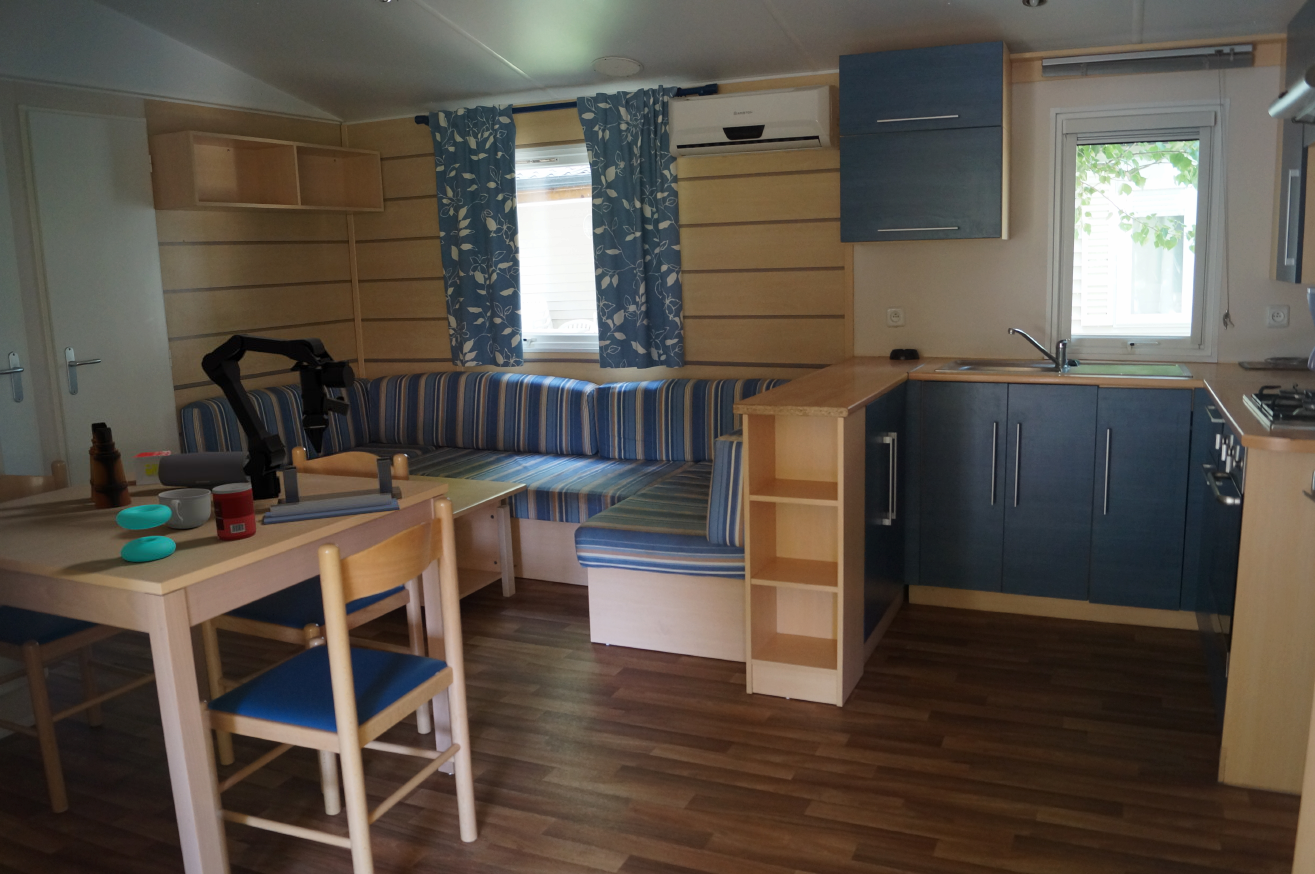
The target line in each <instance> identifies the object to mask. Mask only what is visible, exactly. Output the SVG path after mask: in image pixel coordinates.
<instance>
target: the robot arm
mask: <svg viewBox="0 0 1315 874" xmlns="http://www.w3.org/2000/svg"><path fill="white" fill-rule="evenodd" d="M247 352H254V353H263V354H270V355H271V354H272V355H280V356H283V357H286V358H288V359H290V360H293V361H295V363H294V364H293V366H291V368H290V369H289V371H290V372H298V375H299V376H298V378H299V387H300V399H301V406H302V418H301V424H302V430H303V431H304V433H305V434H306V437H307V438H308V440H309V442H310V444H311V445H312V448H313V449H314V451H315V453H316V454H322V450H323V449H322V447H323V441H324V440H323V438H324V433H325V432H326V431H327V429H328V428H330V418H329V417H330V416H329V412H330V413H331V412H332V413H336V414H338V415H341V416H344V417H345V416H346V417H347V416H348V413H349V410H350V406H351V403H350V402H349V401H346V399H345V396H343V395H340V394H337V395H336V396H335V397H330V396H328V395H327V391H326V388H327V389H352V387H353V386H354V384H355V380H356V379H355V378H356V374H355V372H354V369H353V367H352V366H351V365H350V361H349V360H346V359H345V360H340V361H337V360H335V359H334V357H332V355H331V354H330V353H329V351H328V350H327V349H326V348H325V344H324V343H323V342H322V340H321V339H320V338H318V337H304V338H302V337H301V338H294V339H293V338H291V339H287V338H286V339H285V338H278V337H270V336H262V335H254V334H253V335H252V334H248V333H237V334H233V335H232V336H230V337H229V338H228V339H227V340H226V341H225V342H224V343H222V344H221V345H218V346H217V347H216V348H214V349H213V350H212V352H208V353H206V354H205V355H203V357H202V360H201V362H200V365H201V369H202V371H203V372H204V373H205V375H206V376H207V378H208V379H209V380H210V381H211V382H213V383H214V384H215V385H217V387H219V388H220V390H221V391H222V392H223V394H224V396H225V398H226V400H227V401H228V404H229V405H230V407H231V409H232V411H233V414H235V416H236V419H237V420H238V422H239V425H240V426H241V428H242V430H243V432H244V434H245V436H246V437H247V452H249V455H250V458H251V459H250V460H249V461H248V463H247V464H246V465H245V466H244V467H243V471H244V473H245V475H246V476H250V480H251V482H250V484H251V487H252V494H253V500H260V499H269V498H277V497H280V494H281V493H282V486H281V485H282V484H281V477H280V475H278V470H281V469H282V465H283V463H284V461H285V459H286V456H287V452H286V450H285V448H286V447H287V446H286V445H285V444H284V443H283V441H282V439H281V436H280V434H279V433H274V434H271V432H269V431H268V430H267V429H266V427H265V425H264V423H263V420H262V419H261V417H260V415H259V413H258V412H257V409H256V408H255V405H254V404H253V402H252V400H251V398H250V397H249V395H248V393H247V391H246V389H245V386H244V385H243V384H242V381H241V368H240V365H239V362H240V361H242V359H243V358H244V357H245V355H246V354H247ZM325 387H326V388H325Z"/></svg>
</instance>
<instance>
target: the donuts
mask: <svg viewBox="0 0 1315 874" xmlns="http://www.w3.org/2000/svg"><path fill="white" fill-rule="evenodd" d="M170 517H171V510H170V508H169V507H167V506H165V505H159V504H154V503H153V504H144V505H143V504H142V505H137V506H131V507H128V508H125V509H123V510H120V511H119V512H118V514H116V517H115V521H116V523H117V524H118V526H120V527H121V528H123V529H127V530H135V531H136V530H147V529H151V528H155V527H156V528H157V527H159V526H162V525H164V524H166V523H165V522H167V521H168V520H169V519H170ZM176 548H177V545H176V543H175V541H174V540H173V539H172V538H170V537H168V536H165V535H164V536H163V535H150V536H149V535H148V536H143V537H142V536H141V537H138V538H135V539H132V540H130V541H129V542H126V543H125V544H124V545H123V547H122V548H121V550H120V556H121V558H122V559H124V560H125V561H126V562H133V563H143V562H150V561H151V562H152V561H156V560H159V559H164V558H167V557H168V556H171V555H172V554H173V553H174V552H175V550H176Z"/></svg>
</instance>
